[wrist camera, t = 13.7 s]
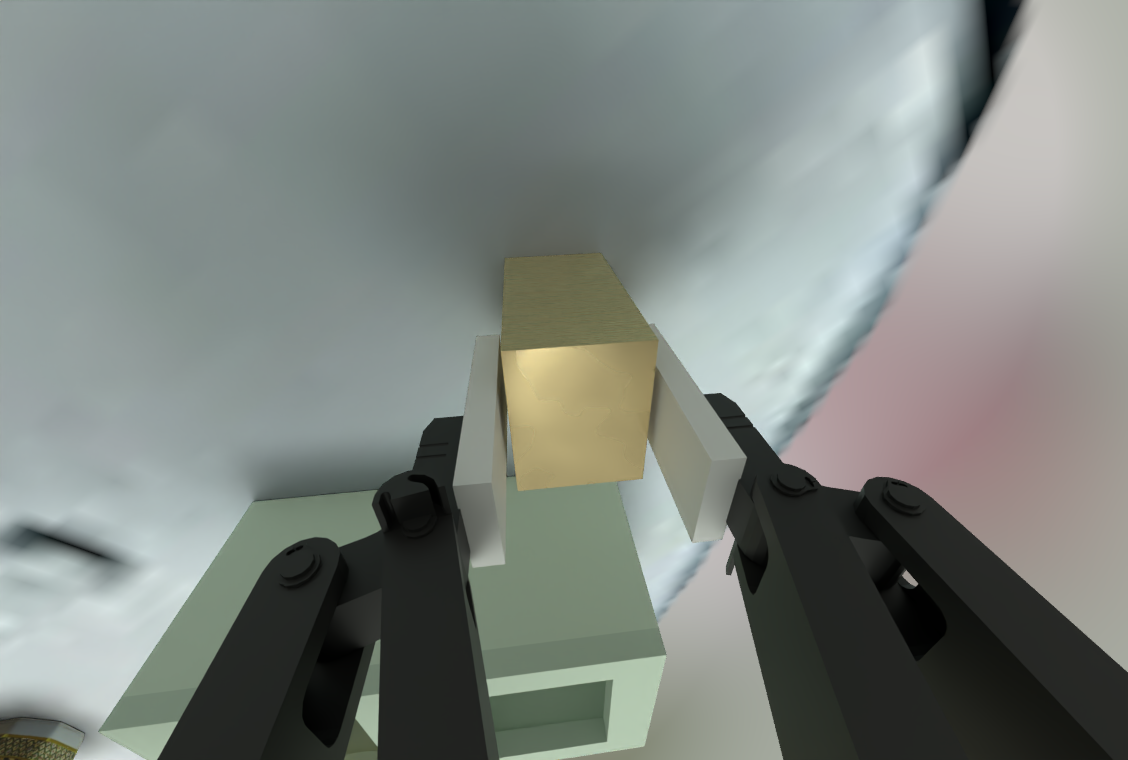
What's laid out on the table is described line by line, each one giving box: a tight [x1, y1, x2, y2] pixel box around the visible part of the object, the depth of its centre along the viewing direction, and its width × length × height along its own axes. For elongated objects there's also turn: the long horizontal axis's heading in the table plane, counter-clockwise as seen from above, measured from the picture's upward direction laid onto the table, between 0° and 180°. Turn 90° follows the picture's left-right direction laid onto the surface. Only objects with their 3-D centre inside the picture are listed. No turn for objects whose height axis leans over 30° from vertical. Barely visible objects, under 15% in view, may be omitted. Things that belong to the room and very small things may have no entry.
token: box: [501, 253, 659, 491], centre depth 15 cm, size 4×5×8 cm
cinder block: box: [98, 476, 666, 760], centre depth 22 cm, size 20×10×10 cm, turn 91°
